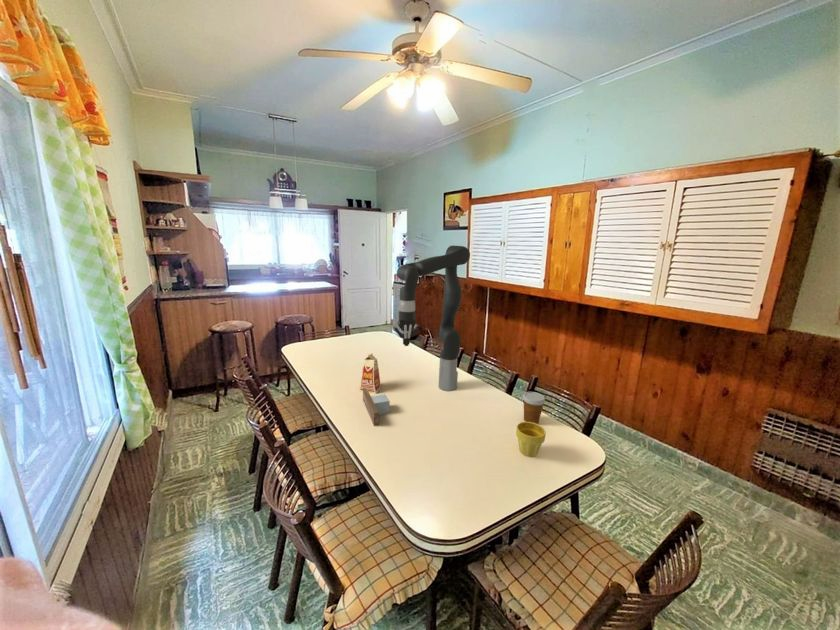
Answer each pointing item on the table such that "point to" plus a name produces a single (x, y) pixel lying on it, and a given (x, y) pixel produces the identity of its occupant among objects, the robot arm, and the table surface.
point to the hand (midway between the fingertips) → (406, 345)
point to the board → (370, 407)
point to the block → (381, 403)
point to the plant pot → (530, 438)
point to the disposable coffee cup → (533, 406)
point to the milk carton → (370, 375)
